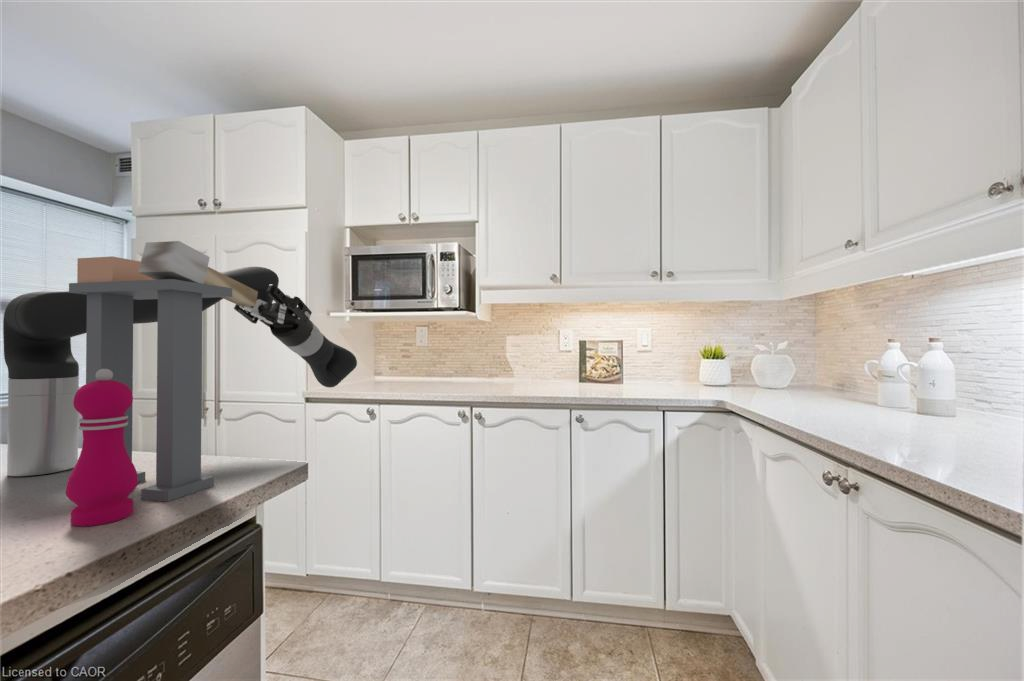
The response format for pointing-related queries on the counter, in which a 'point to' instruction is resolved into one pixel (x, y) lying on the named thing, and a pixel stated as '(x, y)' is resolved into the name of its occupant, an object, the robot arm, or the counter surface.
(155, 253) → the mallet
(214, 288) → the shelf
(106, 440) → the pepper mill
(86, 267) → the base block
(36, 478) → the counter surface
